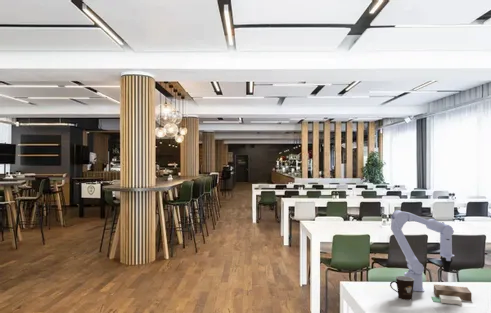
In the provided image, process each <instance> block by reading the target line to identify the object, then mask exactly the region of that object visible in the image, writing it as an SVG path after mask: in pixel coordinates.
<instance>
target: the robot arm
mask: <svg viewBox="0 0 491 313" xmlns="http://www.w3.org/2000/svg"><path fill="white" fill-rule="evenodd" d="M390 219H391V222H390V229H391V232H392V234H393V236H394V237H395V240H396V241H397V244H398V246H399V247H400V250H401V251H402V253H403V255H404V257H405V261H406V267H407V268H408V270H407V271H406V272H403V273H404V275H403V276H406V277H411V278H413V279H414V285H413V292H422V293H424V292H425V290H424V287H423V284H424V283H423V282H424V281H423V279H424V278H423V272H424V270H425V268H424V265H423V264H422V263H421V262H420V261H419V259H418V258H417V256H416V255H415V253H414V251H413V249H412V247H411V245H410V244H409V242H408V240H407V238H406V236H405V234H404V233H403V230H402V229H403V227H404V225H405V224H406V223H407V222H412V221H413V222H416V223H420V224H422V225H424V226H426V228H427V229H428V230H431V231H434V232H436V233H439V241H440V244H439V245H440V246H439V248H440V252H439V256H440V261H441V263H442V264H441V265H442V268H443V271H444V272H448V273H449V271H450V269H451V268H450V266H451V264H452V262H453V258H452V257H455V254H453V245H452V244H453V235H454V232H455V231H454V228H453V227H452V226H451V225H449V224H446V223H445V222H442V221H438V220H437V218H428V219H427V218H424V217H421V216H419V215H417V214H414V213H411V212H408V211H402V210H400V209H396V210H394V211H393V212H392V214H391V216H390Z"/></svg>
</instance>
